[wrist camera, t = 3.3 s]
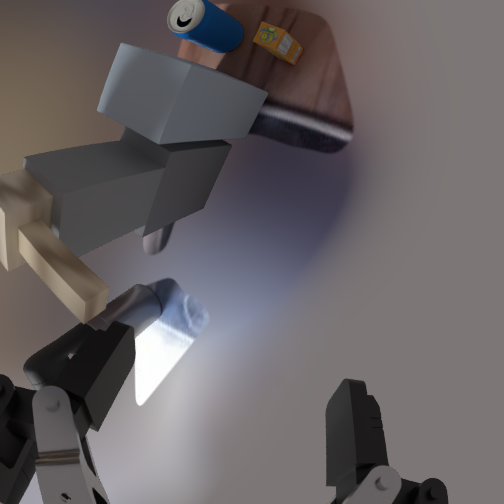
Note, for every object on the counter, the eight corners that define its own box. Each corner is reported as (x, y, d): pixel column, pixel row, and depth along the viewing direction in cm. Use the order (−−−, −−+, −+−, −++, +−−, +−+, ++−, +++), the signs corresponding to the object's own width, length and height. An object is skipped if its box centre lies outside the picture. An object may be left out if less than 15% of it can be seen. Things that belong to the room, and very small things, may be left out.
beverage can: (203, 50, 41) (157, 33, 30) (216, 17, 38) (174, -7, 27) (236, 58, 39) (196, 38, 29) (251, 23, 36) (214, -5, 26)
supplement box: (275, 59, 38) (249, 40, 29) (285, 40, 36) (262, 18, 27) (294, 67, 37) (273, 49, 29) (305, 49, 36) (287, 26, 27)
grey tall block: (245, 138, 44) (158, 144, 26) (195, 112, 45) (96, 110, 27) (268, 92, 40) (191, 65, 22) (215, 69, 41) (121, 42, 23)
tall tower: (203, 208, 51) (56, 283, 25) (168, 185, 52) (19, 239, 26) (232, 145, 45) (67, 171, 19) (193, 124, 46) (26, 137, 20)
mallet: (125, 261, 20) (72, 292, 15) (114, 315, 23) (71, 347, 18) (24, 168, 22) (-18, 180, 17) (21, 219, 25) (-16, 235, 20)
